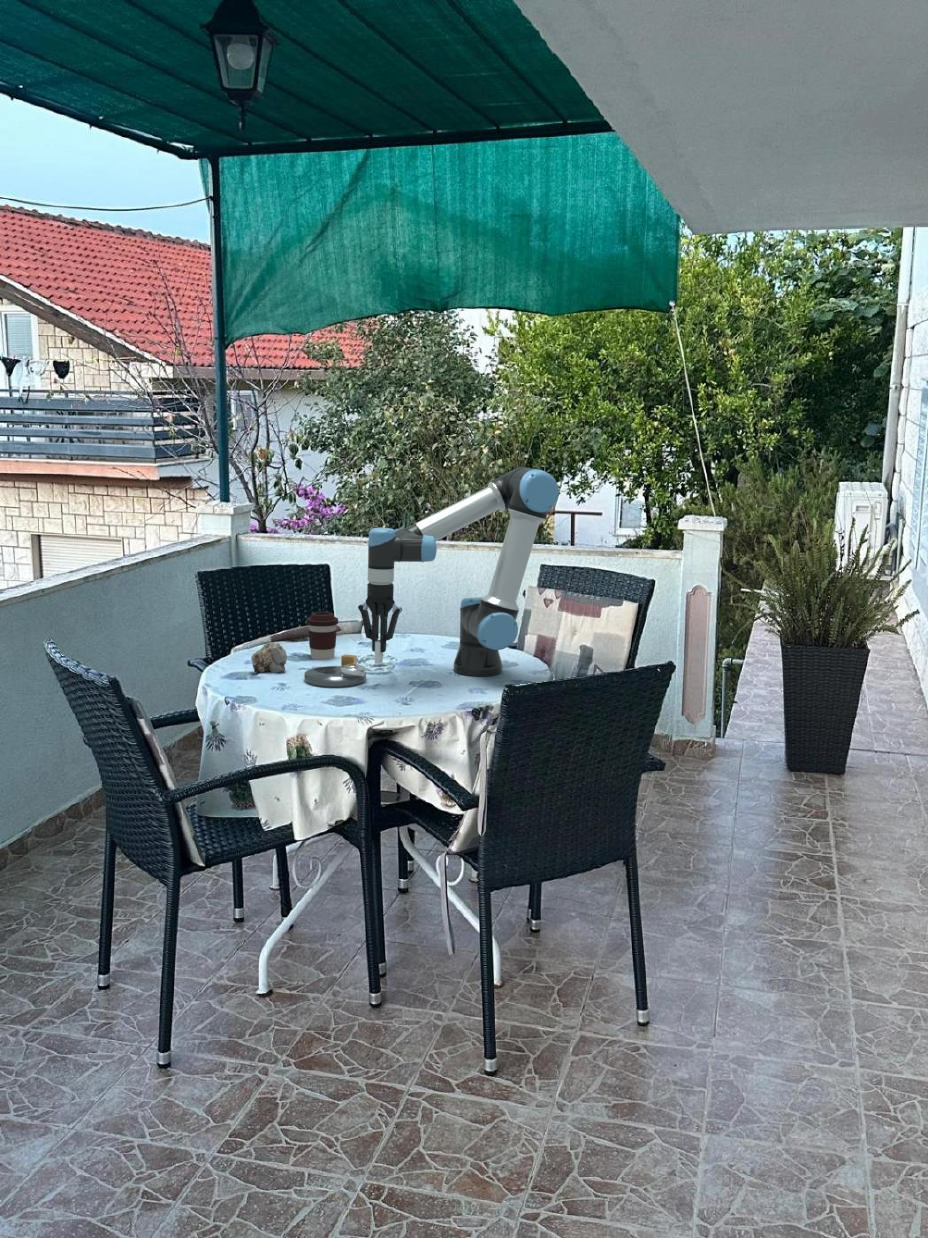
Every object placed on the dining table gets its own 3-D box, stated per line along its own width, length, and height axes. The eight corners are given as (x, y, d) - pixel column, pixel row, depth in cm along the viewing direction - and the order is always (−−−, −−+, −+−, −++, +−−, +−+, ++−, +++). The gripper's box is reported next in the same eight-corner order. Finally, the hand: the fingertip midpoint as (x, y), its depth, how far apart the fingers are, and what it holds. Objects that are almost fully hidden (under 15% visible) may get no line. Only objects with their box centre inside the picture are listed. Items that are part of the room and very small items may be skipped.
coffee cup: (332, 664, 364) (332, 617, 361) (302, 662, 366) (302, 615, 363) (342, 657, 374) (342, 611, 371) (312, 655, 375) (312, 609, 372)
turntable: (378, 673, 350) (378, 657, 349) (352, 690, 331) (352, 673, 330) (323, 668, 355) (323, 652, 354) (294, 684, 336) (294, 667, 335)
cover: (368, 673, 342) (368, 663, 342) (359, 679, 336) (359, 668, 335) (346, 671, 344) (346, 661, 344) (336, 676, 338) (336, 666, 337)
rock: (268, 677, 358) (246, 654, 355) (297, 654, 356) (275, 631, 353) (267, 688, 349) (244, 664, 346) (296, 665, 348) (274, 641, 345)
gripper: (406, 582, 334) (404, 662, 338) (364, 578, 337) (362, 657, 342) (397, 586, 327) (395, 668, 331) (354, 582, 330) (352, 663, 335)
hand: (378, 662), depth 337 cm, fingers closed
